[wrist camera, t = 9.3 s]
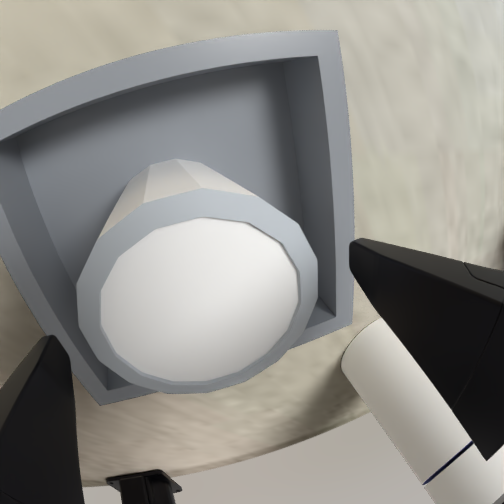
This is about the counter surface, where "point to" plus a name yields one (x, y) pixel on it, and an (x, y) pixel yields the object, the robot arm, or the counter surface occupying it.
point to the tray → (177, 147)
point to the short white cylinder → (194, 282)
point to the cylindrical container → (420, 420)
